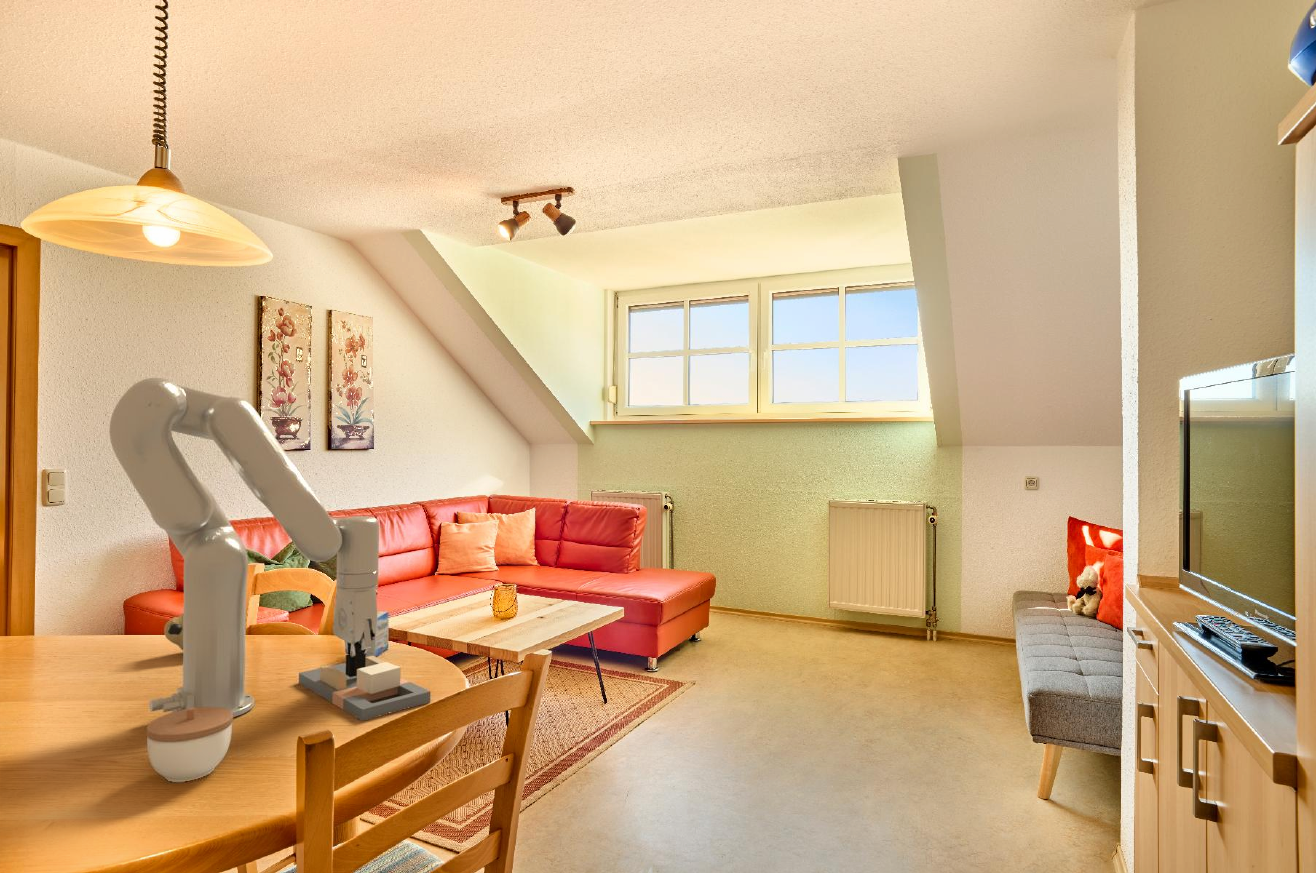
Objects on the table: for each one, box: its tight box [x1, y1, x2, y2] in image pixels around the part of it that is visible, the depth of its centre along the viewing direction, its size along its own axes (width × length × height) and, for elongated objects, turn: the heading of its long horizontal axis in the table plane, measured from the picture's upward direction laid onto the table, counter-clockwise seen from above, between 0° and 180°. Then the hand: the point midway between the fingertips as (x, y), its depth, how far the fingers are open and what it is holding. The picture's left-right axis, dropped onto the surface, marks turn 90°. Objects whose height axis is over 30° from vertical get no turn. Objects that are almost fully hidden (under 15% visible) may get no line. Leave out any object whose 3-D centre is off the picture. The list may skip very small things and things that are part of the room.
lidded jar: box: [145, 707, 234, 783], centre depth 109 cm, size 11×11×9 cm
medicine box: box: [366, 610, 390, 658], centre depth 168 cm, size 8×4×9 cm, turn 179°
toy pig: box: [163, 612, 184, 651], centre depth 166 cm, size 10×12×11 cm
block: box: [357, 661, 402, 694], centre depth 141 cm, size 6×5×4 cm
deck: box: [298, 656, 431, 722], centre depth 143 cm, size 13×28×4 cm, turn 47°
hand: (355, 674), depth 145 cm, fingers closed
